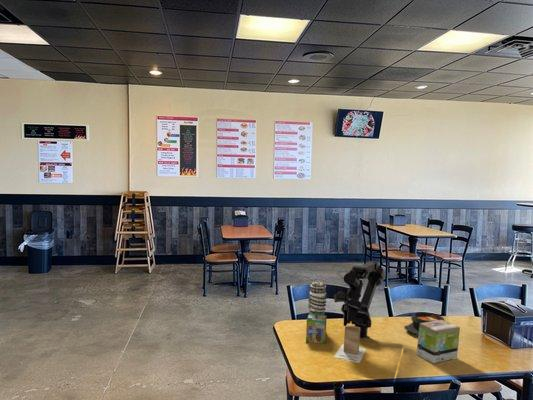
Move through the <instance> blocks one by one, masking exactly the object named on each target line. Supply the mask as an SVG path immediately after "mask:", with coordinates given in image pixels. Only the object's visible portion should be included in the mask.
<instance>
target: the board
mask: <svg viewBox="0 0 533 400" xmlns="http://www.w3.org/2000/svg"><path fill="white" fill-rule="evenodd" d="M343 351H344V343H341V345H340V347H339V348H338V349H337V351H336V352H335V354H334V356H333V358H336V359H339V360H343V361H349V362H353V363H358V364H360V363H361V361H362V359H363V357H364V355H365V353H366V351H367V348H364V347H360V346H359V352H358V354H357V355H356V354H351V353H347V352H343Z"/></svg>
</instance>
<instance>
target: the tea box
mask: <svg viewBox="0 0 533 400" xmlns="http://www.w3.org/2000/svg"><path fill="white" fill-rule="evenodd" d="M444 320H445V319H444ZM444 320H438V321H432V322H425V323H420V326H419V335H417V336H418V337H417V346H416V347H417V348H416V355H417V356H419V357H421V358H422V359H424V360H426V361H428V362H430V363H432V364H436V363H440V362H444V361H451V360H455V359H454V358H456V359H457V358H458V350H459V341H460V331H461V327H460V326H458V325H455V324H453V323H451V322H449V321H446V320H445V321H444ZM450 359H451V360H450Z"/></svg>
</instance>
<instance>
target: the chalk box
mask: <svg viewBox="0 0 533 400" xmlns="http://www.w3.org/2000/svg"><path fill="white" fill-rule="evenodd" d="M327 318H328V316H327V315H325V314H324V315H319V314H317V311H316V309H315V314H309V313H308V315H307V318H306V330H305V331H306V332H305V333H306V334H305V335H306V337H305V344H308V343H309V342H310V343H318V344H324V345H326V339H327V321H328V320H327Z"/></svg>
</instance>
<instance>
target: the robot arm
mask: <svg viewBox="0 0 533 400" xmlns="http://www.w3.org/2000/svg"><path fill="white" fill-rule="evenodd" d="M366 279H367V280H368V281H367V284H366V286H365V289H364V292H363V295H362V291H363V287H364V282H363V280H366ZM384 280H385V270H384V269H383V268H382V266H380V265H379V262H377V261H371V260H368V261H366V263H363V264H361V265H357V264H354V265H352V267H351V268H350V270H349V271H348V272H347V273H345V275H344V276H343V282H344V284H345V285H347V287H349V288H348V291H347V292H346V293H345V292H344V291H343V290H338V292H337V293H335V294H334V295H333V300H334V303H343V304H342V305H341V308H340V311H341V312H342V314H343V324H342V325H343V326H344V327H346V325H353V326H357V327H360V339H361V338H364V339H365V338H367V339H370V335H369V336H368V329H370V328H371V327H372V323H373V322H372V319H371V315H370V311H369V309H370V306H371V303H372V301H373V298H374V295H375V293H376V289H377V287H378V286H379V285H381V284H382V283H383V281H384ZM361 297H362V298H361ZM360 298H361V300H360Z"/></svg>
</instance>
